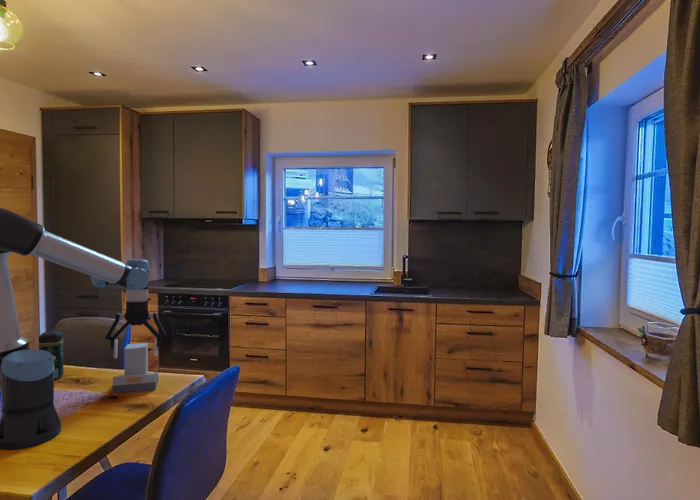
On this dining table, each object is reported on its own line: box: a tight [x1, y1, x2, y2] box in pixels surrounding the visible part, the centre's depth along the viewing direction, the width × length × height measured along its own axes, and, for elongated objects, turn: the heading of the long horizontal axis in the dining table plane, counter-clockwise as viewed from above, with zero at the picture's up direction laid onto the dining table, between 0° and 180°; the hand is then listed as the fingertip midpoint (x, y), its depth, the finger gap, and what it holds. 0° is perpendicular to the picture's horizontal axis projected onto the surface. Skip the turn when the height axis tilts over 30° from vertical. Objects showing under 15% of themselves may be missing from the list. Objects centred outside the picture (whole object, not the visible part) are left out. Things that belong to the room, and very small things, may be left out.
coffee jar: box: [38, 329, 64, 380], centre depth 167 cm, size 10×8×19 cm
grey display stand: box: [112, 371, 159, 395], centre depth 159 cm, size 12×14×6 cm
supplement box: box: [123, 342, 149, 376], centre depth 159 cm, size 7×7×13 cm
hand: (135, 356), depth 159 cm, fingers open, 13 cm apart
